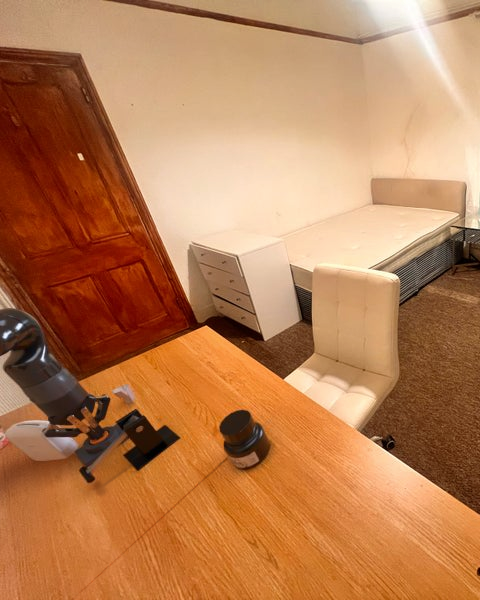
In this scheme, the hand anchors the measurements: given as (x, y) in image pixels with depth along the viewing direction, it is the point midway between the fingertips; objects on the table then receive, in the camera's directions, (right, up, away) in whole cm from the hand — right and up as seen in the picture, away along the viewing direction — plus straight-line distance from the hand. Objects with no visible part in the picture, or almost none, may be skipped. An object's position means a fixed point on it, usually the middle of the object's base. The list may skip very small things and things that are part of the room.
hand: (99, 436), depth 79 cm
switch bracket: (+14, -3, +1) cm, 14 cm away
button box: (0, -4, +2) cm, 4 cm away
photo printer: (-12, -5, +1) cm, 13 cm away
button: (0, -2, +1) cm, 2 cm away
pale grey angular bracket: (-5, +4, +15) cm, 16 cm away
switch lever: (+11, 0, -6) cm, 12 cm away
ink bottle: (+40, -3, -2) cm, 40 cm away
